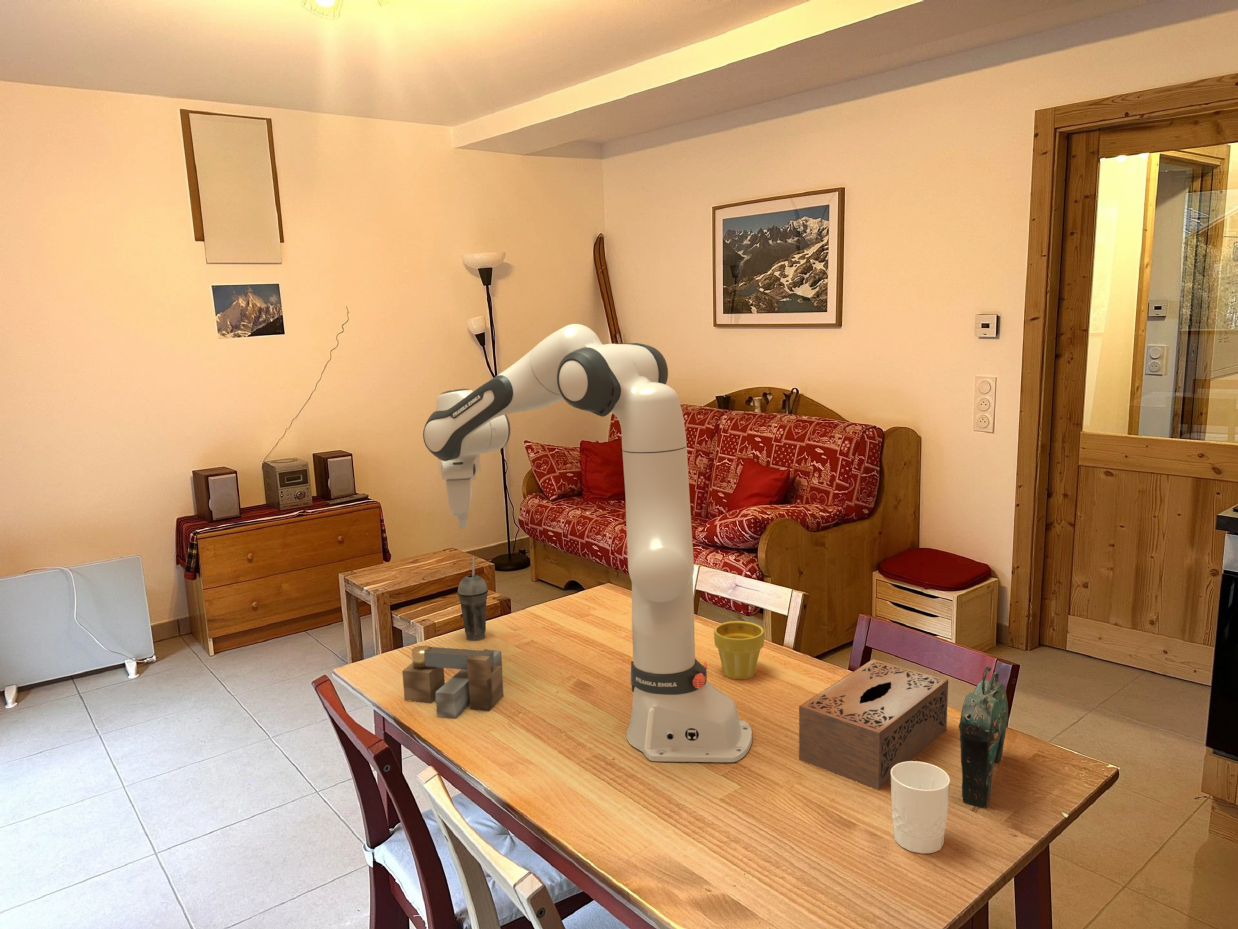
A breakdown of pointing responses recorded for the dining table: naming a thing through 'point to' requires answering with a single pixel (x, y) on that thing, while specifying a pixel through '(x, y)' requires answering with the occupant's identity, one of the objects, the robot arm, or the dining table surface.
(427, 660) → the bar
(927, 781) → the white cup
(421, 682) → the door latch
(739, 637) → the plant pot
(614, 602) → the dining table surface
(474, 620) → the beverage cup
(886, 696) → the tissue box cover
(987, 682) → the dark green upright piece
